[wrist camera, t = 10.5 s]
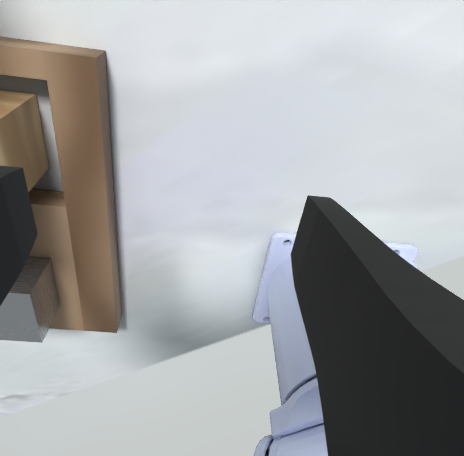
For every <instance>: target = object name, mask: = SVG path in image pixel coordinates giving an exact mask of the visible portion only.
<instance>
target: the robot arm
mask: <svg viewBox="0 0 464 456" xmlns="http://www.w3.org/2000/svg"><path fill="white" fill-rule="evenodd" d="M37 234H38V233H37V229H36V224H35V220H34V215H33V211H32V206H31V202H30V197H29V193H28V188H27V184H26V179H25V175H24V170H23V168H21V167H11V166H1V165H0V306H1V304H2V303H3V301H4V299H5V298H6V296H7V295H8V293H9V291H10V290H11V288H12V286H13V285H14V283H15V281H16V280H17V278H18V276H19V275H20V273H21V271H22V270H23V268H24V266H25V264H26V261H27V259H28V257H29V255H30V252H31V250H32V247H33V245H34V242H35V240H36V237H37ZM285 240H290V241H289V242H287V243H285V242H284V241H285ZM394 250H396V251H395V252H394ZM417 255H418V250H417V248H416V247H415V246H413V245H406V244H396V243H385V242H382V241H381V240H380V239H379V238H378V237H376V236H375V235H374V234H373V233H372V232H370V231H369V230H368V229H367V228H366V227H365V226H364V225H362V224H361V223H360V222H359V221H358V220H357V219H356V218H354V217H353V216H352V215H351V214H350V213H349V212H348V211H346V210H345V209H344V208H343V207H342V206H340V205H339V204H338V203H337V202H335V201H334V200H333V199H331V198H328V197H318V196H308V197H307V200H306V203H305V207H304V210H303V214H302V217H301V220H300V224H299V227H298V231H297V234H290V233H275V234H274V235H272V237H271V240H270V244H269V248H268V252H267V256H266V261H265V265H264V269H263V273H262V277H261V281H260V286H259V290H258V294H257V298H256V302H255V307H254V311H253V320H254V321H255V322H257V323H268V324H271V329H272V336H273V345H274V352H275V360H276V367H277V375H278V382H279V390H280V397H281V405H282V406H281V407H279V408H277V409H275V410H272V411H271V412H270V420H271V430H272V435H269V436H265V437H264V438H263V439H262V440H260V442H259V443H258V445H257V447H256V450H255V453H254V456H464V300H462V299H461V298H459V297H458V296H456V295H455V294H453V293H452V292H450V291H449V290H447V289H446V288H444V287H443V286H441V285H439V284H438V283H437V282H435V281H433V280H432V279H430V278H429V277H427V276H426V275H425V274H423V273H422V272H421V271H419V270H418V268H417V267H416V265H415V263H414V261H415V259H416V257H417Z"/></svg>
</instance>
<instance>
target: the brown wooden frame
mask: <svg viewBox="0 0 464 456" xmlns="http://www.w3.org/2000/svg"><path fill="white" fill-rule="evenodd" d="M0 74H1V75H9V76H17V77H25V78H33V79H41V80H47V85H48V91H49V98H50V105H51V111H52V118H53V125H54V131H55V138H56V145H57V151H58V158H59V165H60V171H61V178H62V185H63V191H64V192H58V191H48V190H38V189H31V190H30V191H29V197H30V202H31V206H32V211H33V215H34V220H35V224H36V229H37V233H38V234H37V237H36V240H35V242H34V245H33V247H32V250H31V252H30V255H29V256H38V257H50V258H51V260H52V265H53V270H54V275H55V280H56V285H57V290H58V295H59V301H60V306H59V308H58V310H57V312H56V314H55V316H54V318H53V321H52V323H51V325H50V327H49V328H54V329H69V330H84V331H98V332H113V333H117V330H118V326H119V323H120V319H121V302H120V285H119V268H118V252H117V235H116V219H115V202H114V186H113V169H112V152H111V136H110V119H109V103H108V86H107V70H106V53H105V51H103V50H95V49H88V48H81V47H73V46H66V45H58V44H51V43H43V42H36V41H29V40H21V39H14V38H6V37H0Z"/></svg>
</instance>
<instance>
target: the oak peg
mask: <svg viewBox="0 0 464 456" xmlns="http://www.w3.org/2000/svg"><path fill="white" fill-rule="evenodd" d="M0 165H1V166H11V167H21V168H23V170H24V175H25V179H26V184H27V188H28V193H29V191H30V190H31V189H32V188H33V187H34V185H35V184H36V183H37V182H38V181H39V180H40V178H41V177H42V176H43V175H44V174H45V172H46V171H47V170H48V169H49V165H48V159H47V154H46V148H45V142H44V137H43V131H42V126H41V120H40V114H39V109H38V103H37V97H36V94H32V93H23V92H14V91H6V90H0Z"/></svg>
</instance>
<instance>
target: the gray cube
mask: <svg viewBox="0 0 464 456" xmlns="http://www.w3.org/2000/svg"><path fill="white" fill-rule="evenodd" d="M59 306H60V301H59V295H58V290H57V285H56V280H55V275H54V270H53V265H52V260H51V258H50V257H38V256H29V257H28V259H27V261H26V264H25V266H24V268H23V270H22V271H21V273H20V275H19V276H18V278H17V280H16V281H15V283H14V285H13V286H12V288H11V290H10V291H9V293H8V295H7V296H6V298H5V299H4V301H3V303H2V304H1V306H0V340H12V341H28V342H43V339H44V337H45V335H46V333H47V331H48V329H49V327H50V325H51V323H52V321H53V318H54V316H55V314H56V312H57V310H58V308H59Z"/></svg>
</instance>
